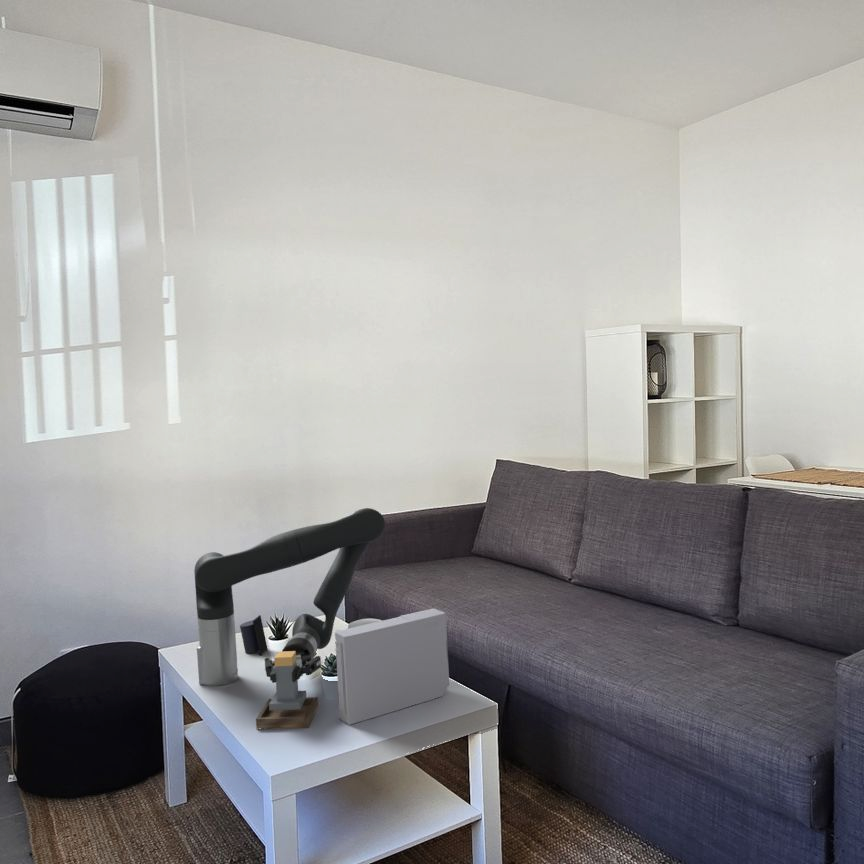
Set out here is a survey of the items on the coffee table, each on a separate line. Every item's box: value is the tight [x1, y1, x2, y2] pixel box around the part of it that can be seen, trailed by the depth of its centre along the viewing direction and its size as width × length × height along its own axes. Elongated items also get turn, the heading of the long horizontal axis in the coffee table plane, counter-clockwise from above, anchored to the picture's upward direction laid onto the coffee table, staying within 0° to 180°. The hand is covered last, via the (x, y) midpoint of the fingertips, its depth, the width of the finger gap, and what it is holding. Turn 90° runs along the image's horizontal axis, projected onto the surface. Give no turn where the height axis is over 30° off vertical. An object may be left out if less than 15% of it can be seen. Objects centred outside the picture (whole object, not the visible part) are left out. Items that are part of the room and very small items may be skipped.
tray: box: [255, 696, 319, 730], centre depth 180 cm, size 12×12×2 cm
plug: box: [269, 651, 308, 711], centre depth 180 cm, size 7×7×12 cm
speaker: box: [239, 615, 268, 657], centre depth 230 cm, size 8×6×10 cm
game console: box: [334, 608, 450, 726], centre depth 184 cm, size 6×27×20 cm, turn 123°
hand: (283, 677), depth 177 cm, fingers closed on plug, 4 cm apart
